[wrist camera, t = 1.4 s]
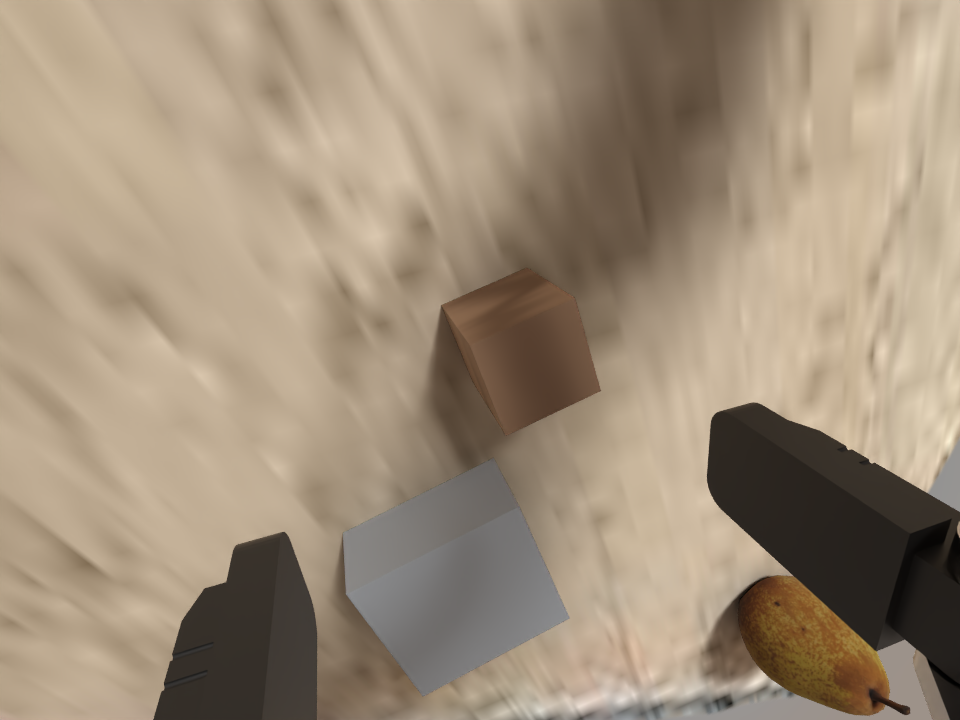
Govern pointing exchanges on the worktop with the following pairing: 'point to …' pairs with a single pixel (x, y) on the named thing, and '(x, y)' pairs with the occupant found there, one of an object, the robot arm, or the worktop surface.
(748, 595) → the fruit
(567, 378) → the walnut block
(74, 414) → the worktop surface
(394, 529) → the base block
